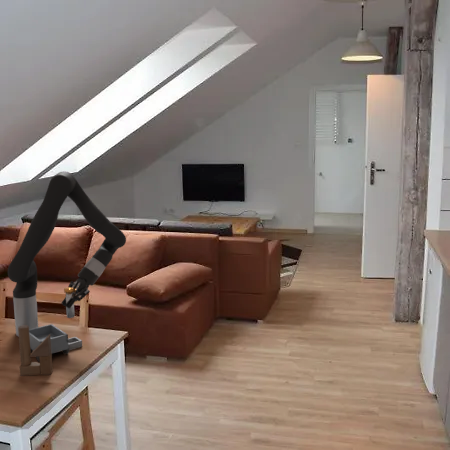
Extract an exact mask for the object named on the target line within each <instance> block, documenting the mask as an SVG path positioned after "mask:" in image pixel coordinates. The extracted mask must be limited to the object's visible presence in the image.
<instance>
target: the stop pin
mask: <svg viewBox="0 0 450 450" xmlns="http://www.w3.org/2000/svg"><path fill="white" fill-rule="evenodd" d="M74 290H75V289H74V288H73V287H65V288H64V289H63V292H64V293H65V297H66V303H67V302H68V301H69V300H70V298H71V297H72V296H73V292H74ZM71 299H72V298H71ZM65 309H66V310H65V311H66V318H67V319H72V318H75V303H74V304H73V305H72V306H71V308H67V307H66V306H65Z"/></svg>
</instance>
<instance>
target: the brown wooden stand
mask: <svg viewBox="0 0 450 450" xmlns="http://www.w3.org/2000/svg"><path fill="white" fill-rule="evenodd" d="M18 334H19V336H18V345H19V357H20V358H19V359H20V365H19V376H21V377H22V376H24V377H25V376H46V375H47V376H49V375H50V376H51V375H52V373H53V371H54V369H53V358H52V357H53V353H51V337H50V334H49V335H48V336H47V337H46V339H45V340H44V341H43V342H42V343H41V344H40V345H39V346H38V347H37V348H36V349H35V350H34V351H33V352H32V353H31V349H30V336H29V326H28V325H22V326H19V327H18ZM39 356H40V357H39ZM32 357H33V358H34V357H35V358H36V357H39V358H40V362H38V361H32Z"/></svg>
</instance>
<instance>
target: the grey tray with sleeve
mask: <svg viewBox="0 0 450 450" xmlns="http://www.w3.org/2000/svg"><path fill="white" fill-rule="evenodd" d="M49 334H50V337H51V353H52V354H55V353H59V352H62V353H63V355H68V354H70V351H72V350H74V349H75V350H76V349H79V348H82V347H83V340H82V339H80V338H78V337H77V336H72V337H69V334H68V333H67V332H65V331H64V330H61V329H60V328H59V327H57V326H56V325H54V324H53V323H50V324H46V325H42V326H38V328H34V329H30V330H29V336H30V349H31V353H32V352H33V351H34V350H35V349H36V348H37V347H38V346H39V345H40V344H41V343H42V342H43V341H44V340H45V339H46V337H47V336H48V335H49ZM39 357H40V356H39ZM39 357H35V358H36V362H38V363H40V358H39Z"/></svg>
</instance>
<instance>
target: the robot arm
mask: <svg viewBox="0 0 450 450" xmlns="http://www.w3.org/2000/svg"><path fill="white" fill-rule="evenodd" d="M67 198H69V199H70V200H71V201H72V202H73V203H74V204H75V205H76V207H77V209H78V210H79V212H80V213H81V215H82V216H83V218H84V220H85V221H86V222H87V223H88V224H89V225H90V227H92V229H94V230H95V231H96V232H97V233H98V234H101V235H102V236H103V237H104V240H103V241H102V243H101V244H100V246H99V248H98V249H97V250H96V252H94V254H93V255H92V257H91V258H90V259H89V260H88V261H87V262H86V263H85V265H84V266H82V268H81V270H80V271H79V272H78V274H77V277H78V278H77V279H76V280H75V281H73V280H70V282H69V284H68V287H73V288H74V289H75V290H74V292H73V296H72V297H71V298H72V299H71V298H70V300H69V301H68V302H67V303H66V296H65V297H64V299H63V300H61V301H62V302H61V303H60V304H61V305H62V306H64V307H65V308H66V307H67V308H71V306H72V305H73V304H74V305H75V302H80V301H81V300H82V299H84V298H85V297H86V296H88V295H89V294H90V293H91V292H90V290H89V287H90V286H94V284H95V283H96V282H97V280H98V279H99V278H100V277H101V276H102V274H103V272H104V271H105V269H106V268H107V267H108V265H109V263H110V262H111V261H112V259H113V255H114V254H115V253H116V252H117V250H118V249H119V248H120V249H121V248H122V247H124V246H125V245H126V243H127V242H126V241H127V237H126V235H125V233H123V231H122V230H121V229H119V228H118V227H117V226H116V225H115V224H114V223H112V222H111V221H110V219H109V218H108V217H107V216H106V215H105V214H104V213H103V212H102V210H100V209H99V208H98V207H97V205H96V204H95V203H94V202H93V201H92V200H91V198H90V197H89V196H88V195H87V193H86V191H84V189H83V188H82V186H81V185H80V183H79V182H78V180H77V179H76V177H75V176H74V175H73V174H72V173H71V172H69V171H65V170H64V171H59V172H58V173H56V174H54V176H52V177H51V179H50V181H49V183H48V186H47V190H46V192H45V196H44V198H43V200H42V202H41V204H40V206H39V207H38V209H37V211H36V212H35V215H34V216H33V219H32V220H31V222H30V224H29V226H28V228H27V231H26V234H25V235H24V237H23V240H22V242H21V245H20V247H19V248H18V250H17V252H16V254H15V255H14V257H13V258H12V260H11V261H10V264H9V265H8V268H7V276H8V278H9V279H10V281H11V282H14V283H16V285H15V286H14V288H13V290H12V299H13V300H12V301H13V310H14V313H13V314H14V323H15V325H14V326H15V335H16V337H19V334H18V327H19V326H22V325H28V326H29V330H30V329H34V328H38V327H39V318H38V316H39V315H38V303H37V288H38V268H37V264H36V262H35V261H34V260H35V258H36V256H37V255H38V254H39V252H40V251H41V250H42V249H43V247H44V246H45V245H46V244H47V243H48V241H49V239H50V238H51V236H52V234H53V232H54V230H55V227H56V226H57V221H58V218H59V213H60V211H61V208H62V206H63V204H64V203H65V202H66V199H67Z"/></svg>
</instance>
